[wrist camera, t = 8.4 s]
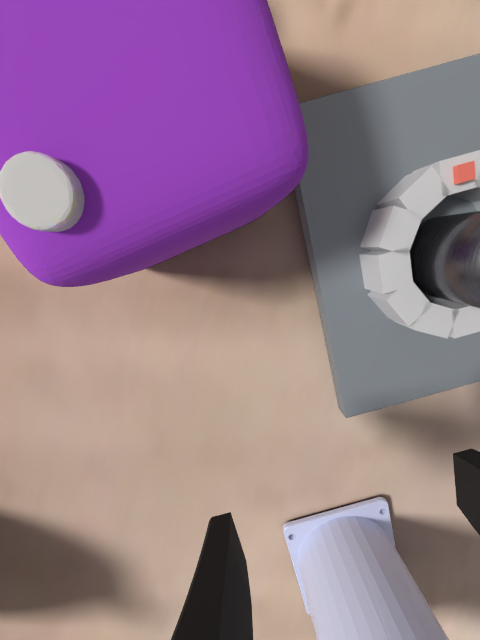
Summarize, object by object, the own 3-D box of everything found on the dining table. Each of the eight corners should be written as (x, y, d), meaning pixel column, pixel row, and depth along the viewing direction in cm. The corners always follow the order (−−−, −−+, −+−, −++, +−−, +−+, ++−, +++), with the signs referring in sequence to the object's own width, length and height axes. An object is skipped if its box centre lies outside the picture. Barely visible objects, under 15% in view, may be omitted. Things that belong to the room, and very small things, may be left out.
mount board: (535, 353, 20) (599, 375, 17) (338, 408, 20) (363, 440, 17) (533, 47, 16) (619, -8, 12) (279, 117, 16) (296, 82, 12)
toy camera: (147, -81, 13) (-38, -916, 4) (299, 188, 17) (411, 108, 7) (-32, 67, 14) (-554, -307, 5) (146, 296, 18) (58, 357, 8)
